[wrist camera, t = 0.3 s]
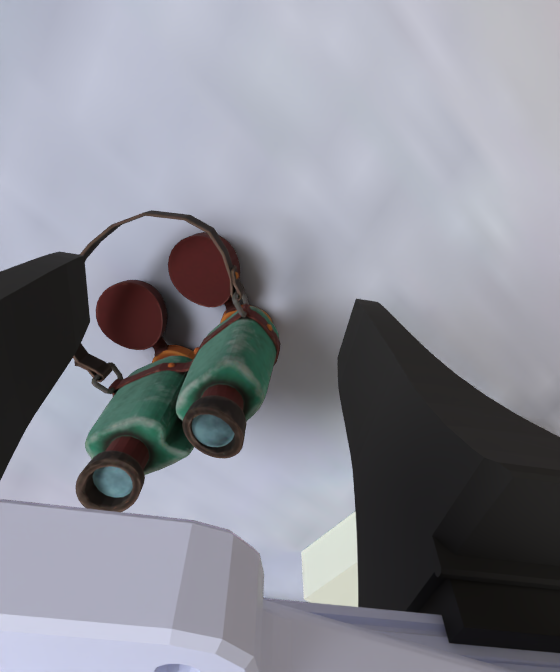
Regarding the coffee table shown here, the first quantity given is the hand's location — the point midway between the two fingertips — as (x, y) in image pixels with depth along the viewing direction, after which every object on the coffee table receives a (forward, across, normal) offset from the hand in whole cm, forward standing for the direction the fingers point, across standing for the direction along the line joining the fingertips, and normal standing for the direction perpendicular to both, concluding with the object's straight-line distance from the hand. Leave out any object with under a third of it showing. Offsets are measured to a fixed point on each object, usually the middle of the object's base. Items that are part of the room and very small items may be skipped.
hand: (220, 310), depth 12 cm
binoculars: (+10, +3, +6) cm, 12 cm away
